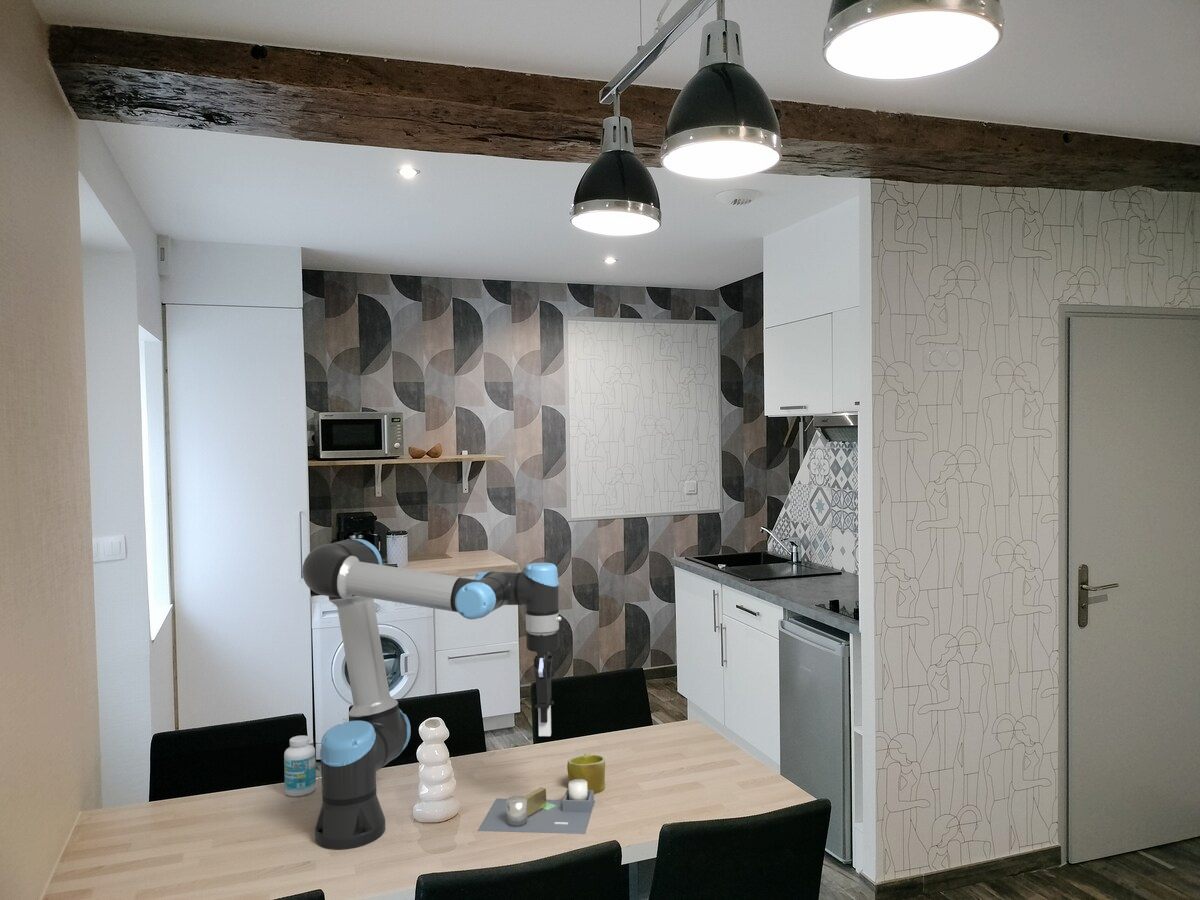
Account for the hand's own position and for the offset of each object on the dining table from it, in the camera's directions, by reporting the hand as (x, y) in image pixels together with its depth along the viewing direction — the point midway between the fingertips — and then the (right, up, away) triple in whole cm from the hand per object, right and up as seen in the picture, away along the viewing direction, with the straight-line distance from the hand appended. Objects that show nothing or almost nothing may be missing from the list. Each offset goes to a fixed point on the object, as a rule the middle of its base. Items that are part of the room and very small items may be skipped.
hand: (545, 734), depth 190 cm
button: (+8, -17, +5) cm, 19 cm away
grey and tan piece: (-4, -18, 0) cm, 19 cm away
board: (-2, -20, +1) cm, 20 cm away
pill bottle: (-63, -22, +21) cm, 70 cm away
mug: (+10, -20, +17) cm, 28 cm away
